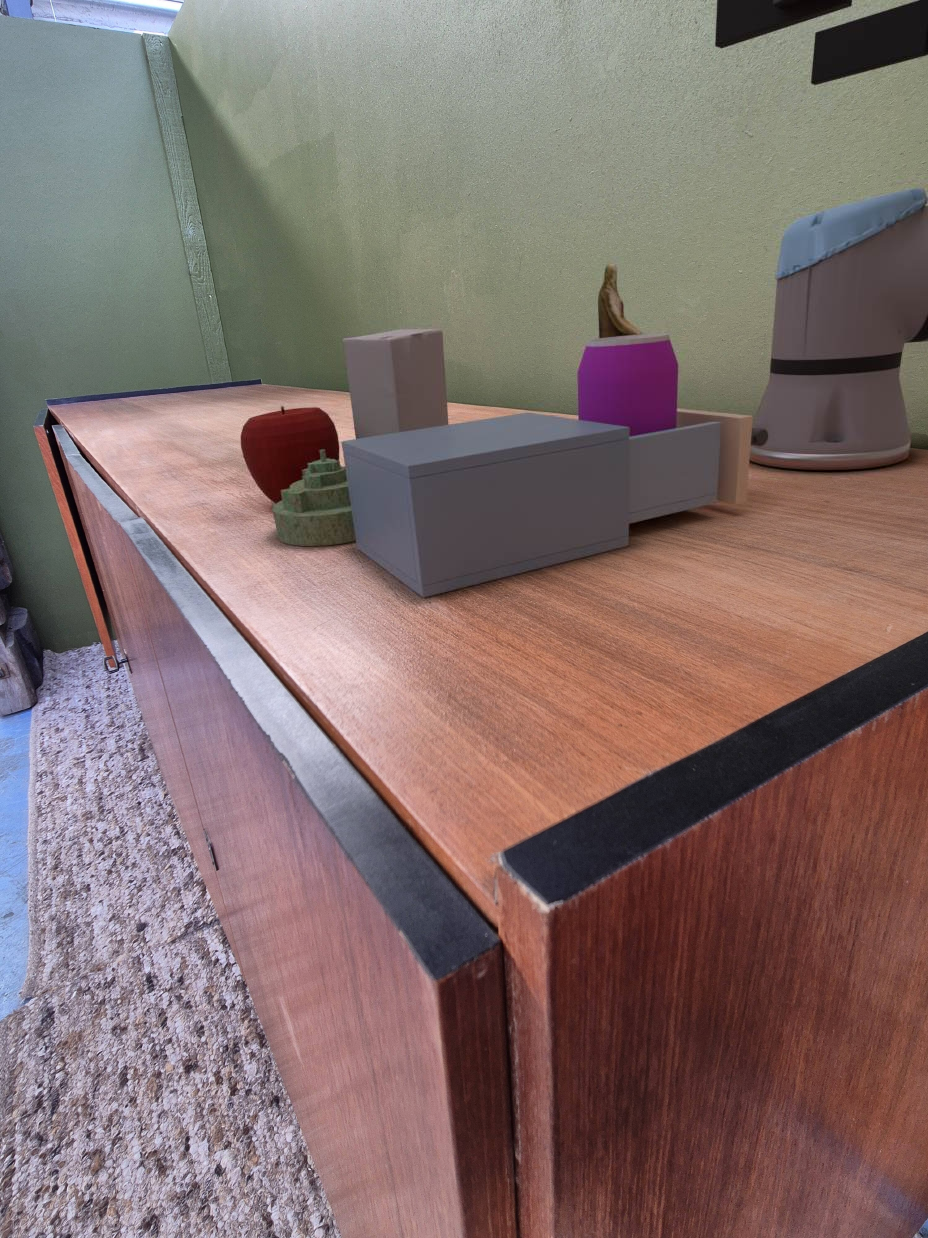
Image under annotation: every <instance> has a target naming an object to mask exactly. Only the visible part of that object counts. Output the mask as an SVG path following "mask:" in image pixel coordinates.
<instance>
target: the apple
mask: <svg viewBox="0 0 928 1238" xmlns="http://www.w3.org/2000/svg"><path fill="white" fill-rule="evenodd" d="M240 449H241V453H242V456H243V459H244V462H245V465H246V467H247V470H248V471H249V473H250V475H251V478H252V480H254V482H255V484H256V486H257V487H258V488H259V490H260V491H261V492H262V493H263V495H264V496H265V497H267V498H268V499H269V500H270V501H271V502H272V503H274V505H275V504H277V503H278V502H280V501H282V495H281V490H285V489H290V485H291V484H293V483H295V482H297V481H300V480H303V478H302V476H303V473H302V470H304V469H307V468H308V463H312V462H314V461H318V460H320V459H321V457H320V450H325V454H326V459H328V458H330V459H335V460H336V461H340V440H339V434H338V431H337V428H336V425H335V422H334V421H333V419H332V418H331V417H330V415H329V414H328V413H327V412H326V411H324V409H321V408H320V407H317V406H313V407H297V408H288V409H285V407H284V406H283V405H281V406H280V410H277V411H275V410H274V411H271V412H266V413H262V414H259V415H255V416H252V417H249V418H248V420H246V421H245V423H244V424H243V425H242V429H241V433H240Z"/></svg>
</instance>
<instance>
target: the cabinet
mask: <svg viewBox="0 0 928 1238" xmlns="http://www.w3.org/2000/svg"><path fill="white" fill-rule="evenodd" d="M629 429H630V428H629V427H625V426H618V425H611V424H604V423H597V422H590V421H583V420H578V418H576V419H575V418H568V417H562V416H556V415H550V414H549V415H548V414H541V413H534V412H522V413H515V414H509V415H501V416H496V417H489V418H483V419H477V420H471V421H470V420H469V421H464V422H458V423H451V424H449V425H444V426H437V427H431V428H424V429H418V430H411V431H405V432H398V433H392V434H385V435H379V436H372V437H366V438H360V439H356V438H353V439H347V440H341V442H340V443H341V450H342V455H343V463H344V466H345V470H346V476H347V483H348V490H349V497H350V503H351V510H352V517H353V523H354V530H355V537H356V541H355V542H356V543H355V544H356V549H357V550H358V551H359V552H361V553H362V554H363V555H365V556H367V557H368V558H369V559H370V560H371V561H373V562H374V563H376V564H377V565H378V566H379V567H381V568H383V569H384V570H386V571H387V572H388V573H389V574H391V575H392V576H393V577H394V578H396V579H397V580H399V582H402V583H403V585H405V586H407V587H408V588H410V589H411V590H412V591H413V592H415V593H416V594H418V595H419V596H420V597H421V598H423V599H424V598H428V597H432V596H436V595H440V594H443V593H444V594H445V593H448V592H453V591H455V590H459V589H464V588H468V587H471V586H475V585H480V584H483V583H487V582H491V581H496V580H499V579H504V578H507V577H510V576H511V577H512V576H515V575H519V574H523V573H527V572H531V571H535V570H539V569H542V568H547V567H550V566H555V565H559V564H562V563H566V562H570V561H574V560H578V559H583V558H586V557H590V556H594V555H597V554H601V553H606V552H610V551H614V550H617V549H621V548H626V547H629V546H630V545H629V544H630V541H629V540H630V539H629V535H630V524H629Z"/></svg>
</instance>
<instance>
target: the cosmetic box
mask: <svg viewBox="0 0 928 1238" xmlns="http://www.w3.org/2000/svg"><path fill="white" fill-rule="evenodd" d="M443 336H444V335H443V330H442V328H401V329H400V328H399V329H393V330H390V331H384V332H379V333H373V334H366V335H359V336H353V337H346V338H343V339H342V342H343V350H344V359H345V366H346V373H347V381H348V391H349V397H350V404H351V412H352V413H351V414H352V420H353V428H354V435H355V436H354V437H355V439H360V438H366V437H372V436H379V435H385V434H392V433H398V432H405V431H411V430H418V429H424V428H431V427H437V426H444V425H450V424H449V411H448V395H447V382H446V381H447V380H446V366H445V365H446V364H445V351H444V337H443Z"/></svg>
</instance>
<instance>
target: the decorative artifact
mask: <svg viewBox="0 0 928 1238" xmlns="http://www.w3.org/2000/svg"><path fill="white" fill-rule="evenodd" d="M320 457H321V459H320V460H318V461H314V462H312V463H308V468H307V469H304V470H302V473H303V476H302V478H303V480H300V481H297V482H295V483H293V484H291V485H290V489H285V490H281V495H282V501H280V502H278V503H277V504H275V503H274V505H273V506H272V513H273V519H274V524H275V528H276V535H277V539H278V540H279V541H280V542H282V543H283V544H286V545H291V546H298V547H326V546H334V545H335V546H336V545H343V544H347V543H352V542H356V537H355V530H354V523H353V517H352V510H351V503H350V497H349V490H348V483H347V476H346V470H345V465H344V466H343V465H341V461H340V460H339V461H336V460H335V459H330V458H328V459H326V454H325V450H320Z"/></svg>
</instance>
